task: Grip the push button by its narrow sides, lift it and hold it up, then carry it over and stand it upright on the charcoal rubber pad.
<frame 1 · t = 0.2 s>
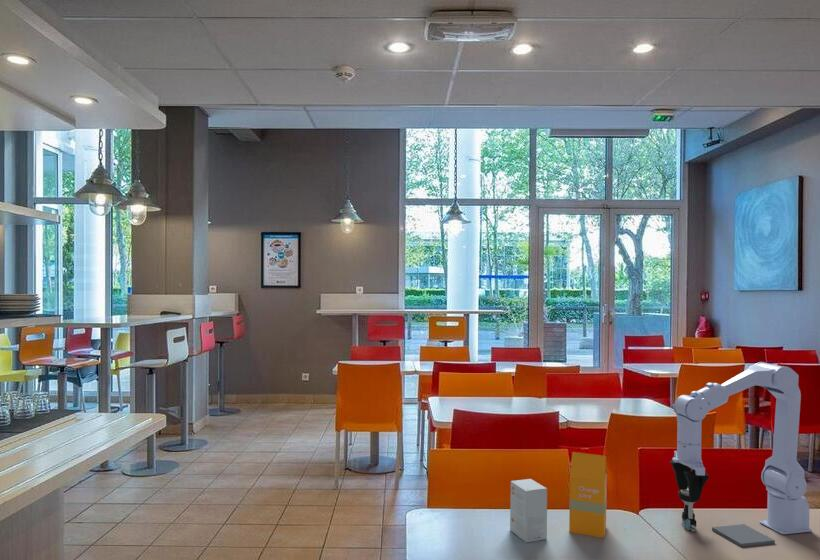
hand: (688, 494, 156), 10 cm above the table, tool pointing down, fingers open, 7 cm apart
orange juice: (587, 529, 158), on the table
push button: (689, 528, 159), on the table
rubber pad: (742, 536, 154), on the table
small box: (528, 535, 154), on the table
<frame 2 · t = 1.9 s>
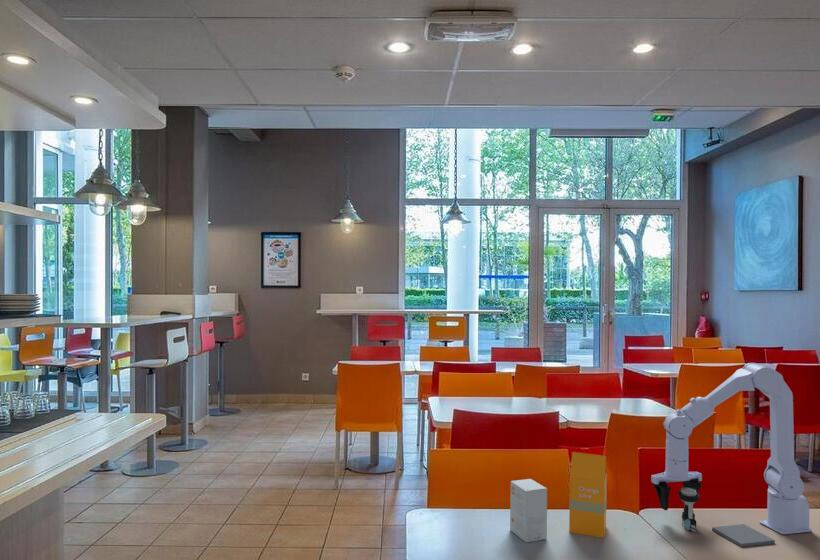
hand: (676, 507, 164), 3 cm above the table, tool pointing down, fingers open, 7 cm apart
nothing on the table moved.
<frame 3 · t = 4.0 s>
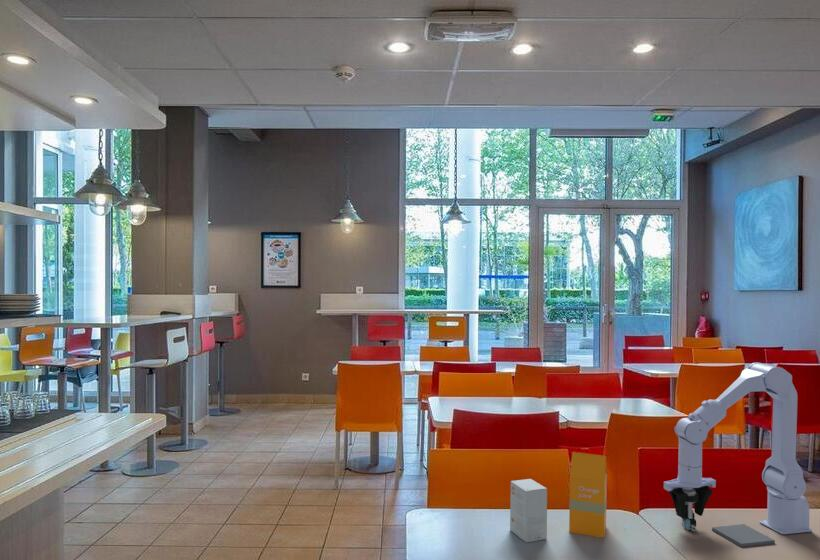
hand: (689, 515, 159), 3 cm above the table, tool pointing down, fingers closed on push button, 5 cm apart
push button: (689, 528, 159), on the table, touching gripper
everything else where it was.
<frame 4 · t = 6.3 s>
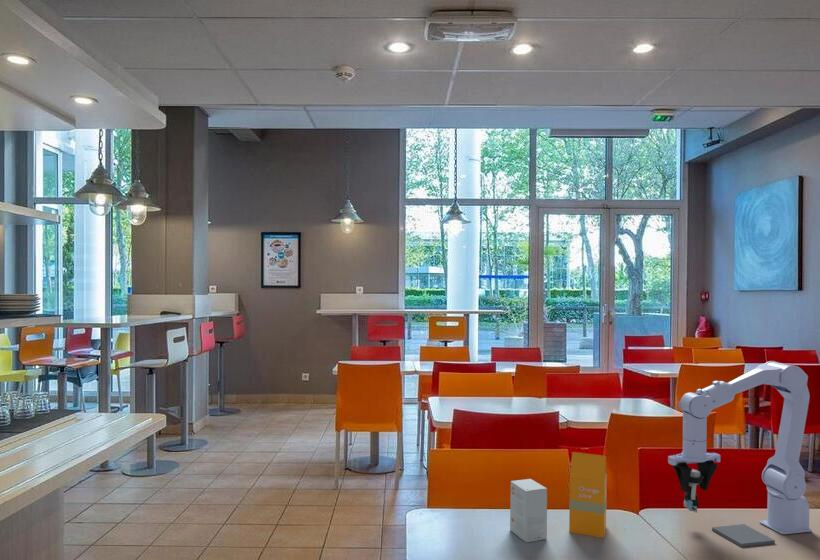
hand: (694, 490, 159), 10 cm above the table, tool pointing down, fingers closed on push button, 5 cm apart
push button: (691, 509, 159), point 5 cm above the table, touching gripper
everything else where it was.
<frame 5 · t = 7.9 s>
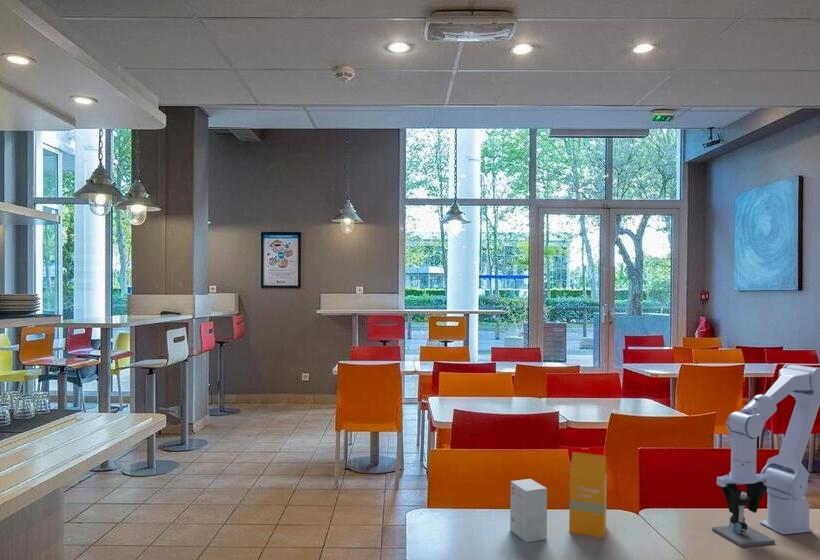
hand: (742, 512, 154), 6 cm above the table, tool pointing down, fingers closed on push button, 5 cm apart
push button: (738, 532, 155), point 1 cm above the table, touching gripper, rubber pad
everything else where it was.
when the fingers open (6 cm above the table, at t = 9.0 s): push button stays where it is, resting on rubber pad.
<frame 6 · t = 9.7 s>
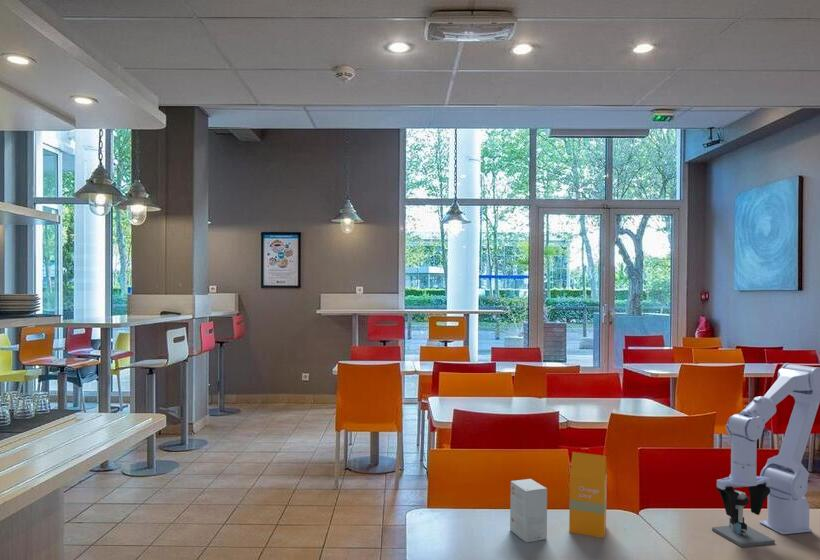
hand: (742, 514, 154), 6 cm above the table, tool pointing down, fingers open, 7 cm apart
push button: (738, 532, 155), point 1 cm above the table, touching rubber pad
everything else where it was.
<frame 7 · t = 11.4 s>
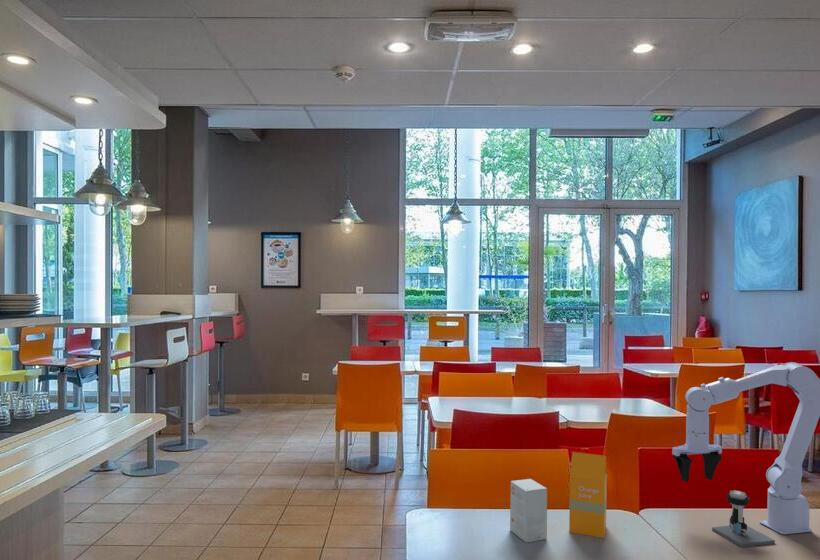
hand: (696, 479, 167), 10 cm above the table, tool pointing down, fingers open, 7 cm apart
nothing on the table moved.
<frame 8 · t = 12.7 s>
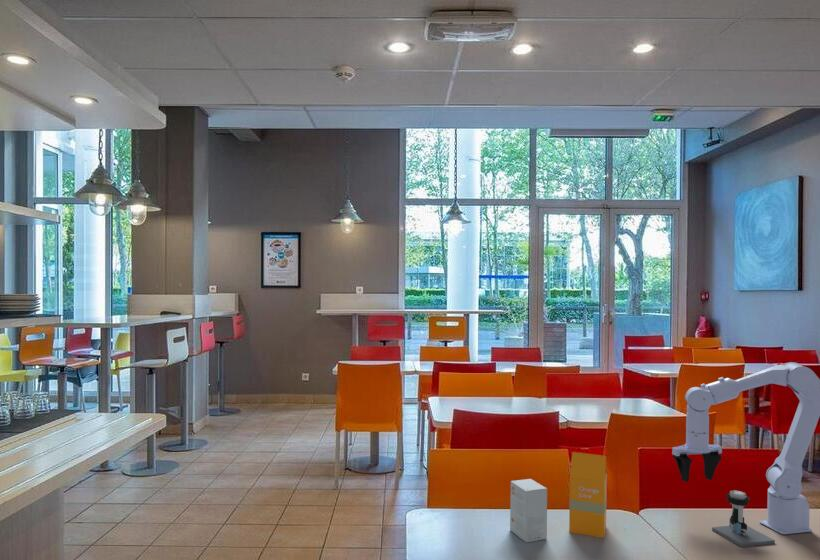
hand: (696, 479, 167), 10 cm above the table, tool pointing down, fingers open, 7 cm apart
nothing on the table moved.
at the end: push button 1.1 cm off-centre on the rubber pad, point 0.6 cm above the rubber pad's base; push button tilted 0°; the gripper is holding nothing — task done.
